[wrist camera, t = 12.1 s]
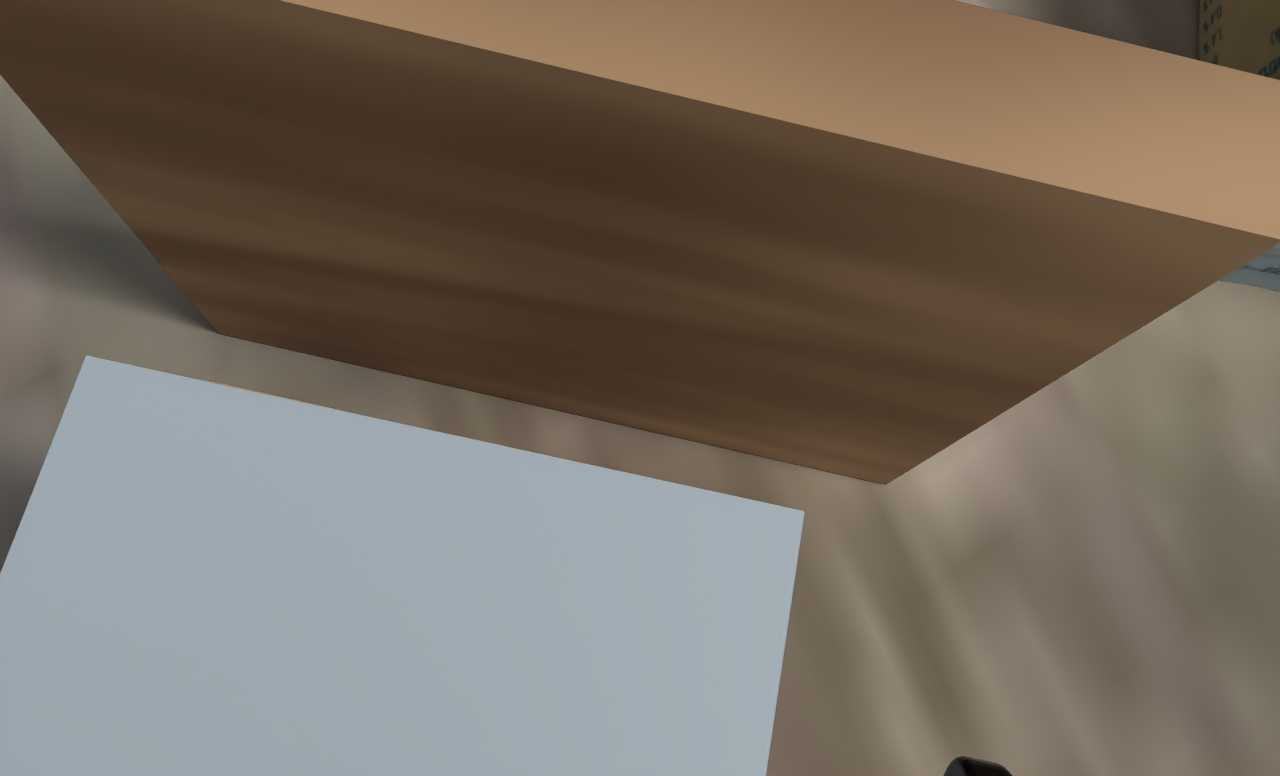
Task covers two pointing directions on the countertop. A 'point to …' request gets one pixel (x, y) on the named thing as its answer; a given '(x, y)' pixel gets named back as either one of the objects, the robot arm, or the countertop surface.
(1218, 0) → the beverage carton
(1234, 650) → the countertop surface
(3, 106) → the countertop surface
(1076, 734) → the countertop surface
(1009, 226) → the wooden knob panel
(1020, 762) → the countertop surface
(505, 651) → the grey block
